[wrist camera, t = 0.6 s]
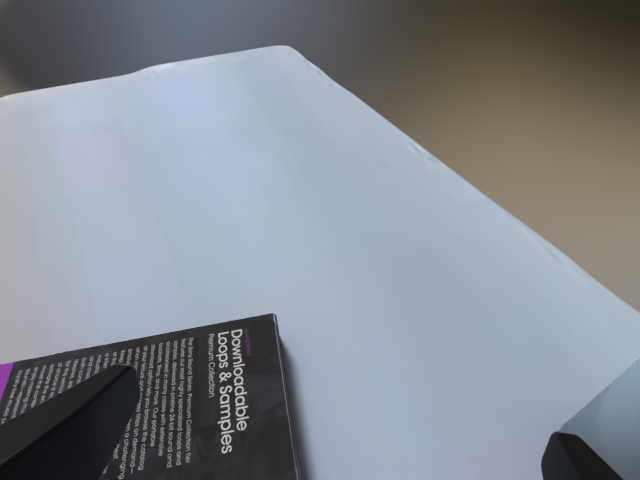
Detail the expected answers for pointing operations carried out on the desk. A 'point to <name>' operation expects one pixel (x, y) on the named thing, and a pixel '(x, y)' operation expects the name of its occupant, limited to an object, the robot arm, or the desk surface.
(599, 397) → the tumbler
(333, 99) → the desk surface
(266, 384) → the box
